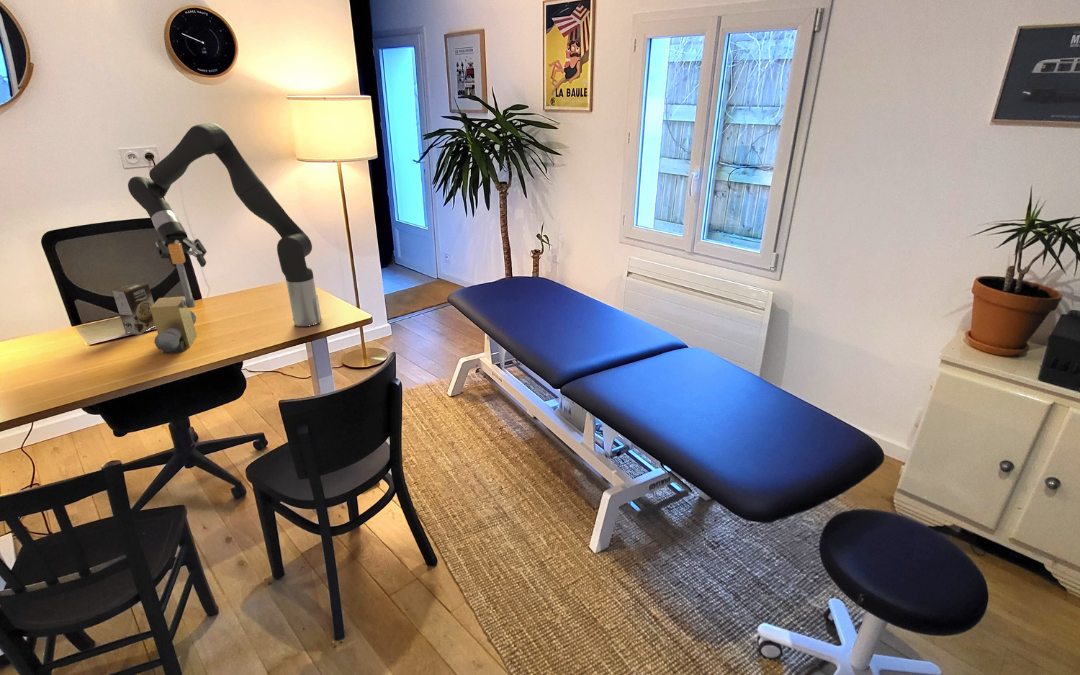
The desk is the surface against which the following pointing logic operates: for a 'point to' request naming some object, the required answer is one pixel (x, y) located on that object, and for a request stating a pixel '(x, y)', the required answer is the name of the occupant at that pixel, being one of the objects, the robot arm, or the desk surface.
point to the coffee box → (135, 307)
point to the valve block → (173, 324)
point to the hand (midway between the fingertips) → (191, 266)
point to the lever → (181, 271)
